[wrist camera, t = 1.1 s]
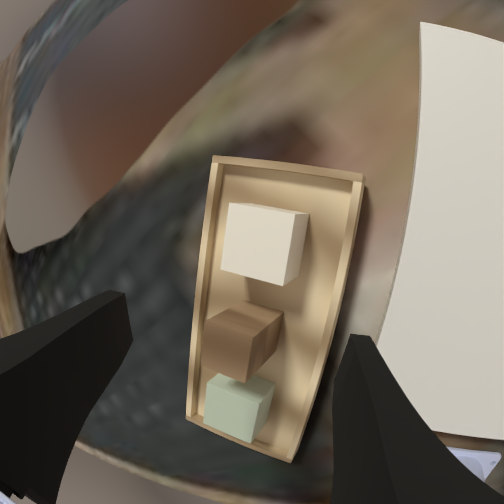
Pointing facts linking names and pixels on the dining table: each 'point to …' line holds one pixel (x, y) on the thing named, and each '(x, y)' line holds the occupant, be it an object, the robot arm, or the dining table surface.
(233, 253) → the off-white square block
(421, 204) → the dock
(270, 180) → the tan open box
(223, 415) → the pale green block
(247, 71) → the dining table surface
